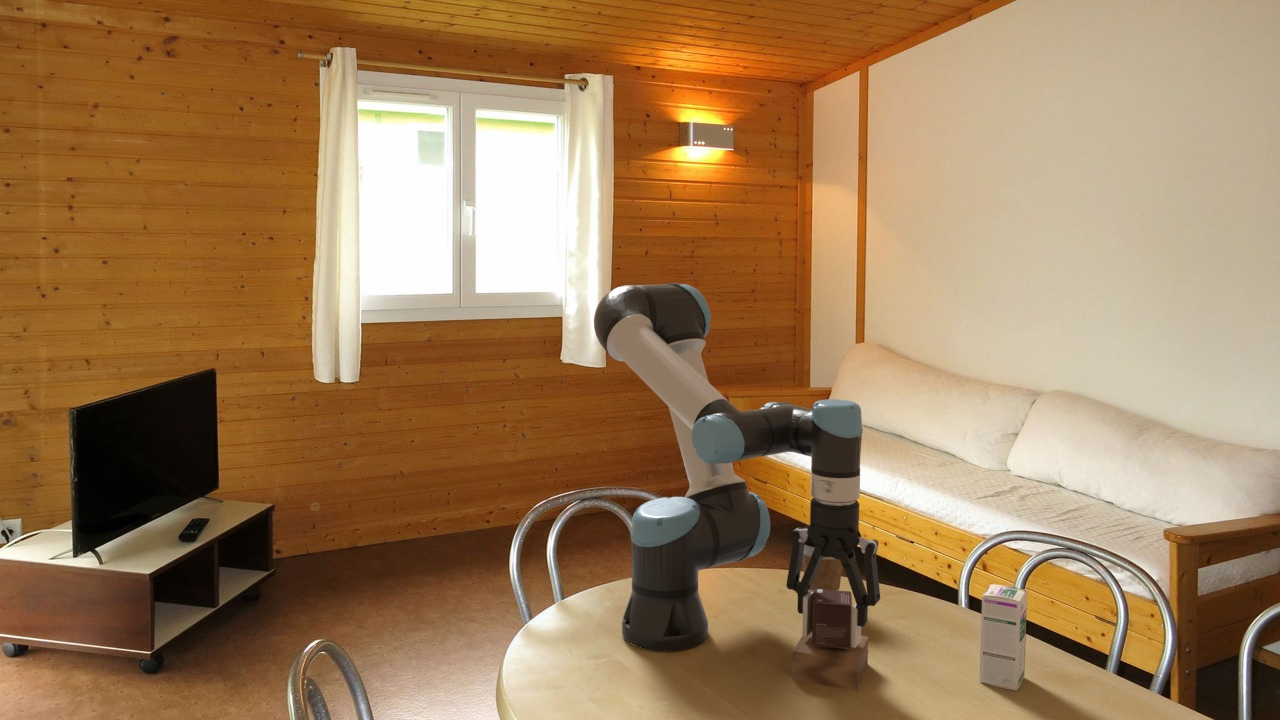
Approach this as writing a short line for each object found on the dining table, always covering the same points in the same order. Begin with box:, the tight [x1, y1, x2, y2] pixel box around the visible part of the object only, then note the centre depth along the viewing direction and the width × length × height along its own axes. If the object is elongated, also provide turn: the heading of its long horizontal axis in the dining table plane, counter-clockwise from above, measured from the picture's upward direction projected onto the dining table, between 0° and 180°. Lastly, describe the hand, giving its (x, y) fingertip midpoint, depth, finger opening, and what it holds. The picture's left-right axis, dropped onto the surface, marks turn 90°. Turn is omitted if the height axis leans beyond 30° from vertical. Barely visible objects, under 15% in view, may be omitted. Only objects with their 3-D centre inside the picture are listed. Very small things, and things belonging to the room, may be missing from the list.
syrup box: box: [979, 583, 1028, 692], centre depth 145 cm, size 6×6×14 cm
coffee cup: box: [802, 524, 843, 592], centre depth 176 cm, size 8×8×15 cm
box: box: [812, 589, 853, 649], centre depth 148 cm, size 6×6×7 cm
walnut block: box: [792, 632, 869, 692], centre depth 149 cm, size 10×10×5 cm
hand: (831, 638), depth 148 cm, fingers closed on box, 7 cm apart
